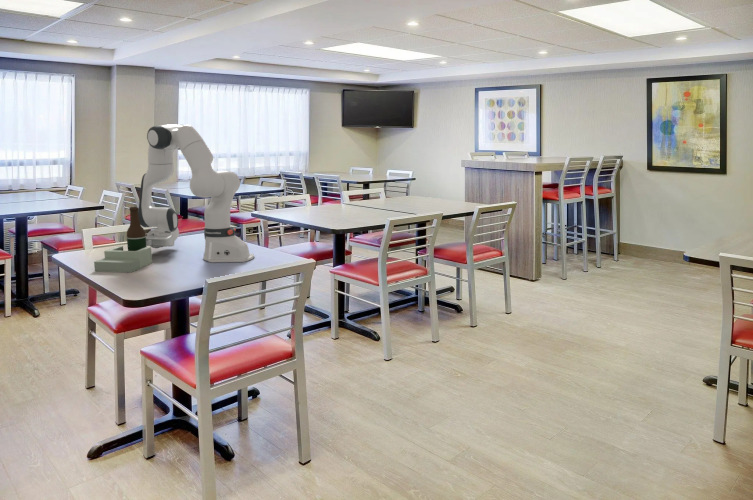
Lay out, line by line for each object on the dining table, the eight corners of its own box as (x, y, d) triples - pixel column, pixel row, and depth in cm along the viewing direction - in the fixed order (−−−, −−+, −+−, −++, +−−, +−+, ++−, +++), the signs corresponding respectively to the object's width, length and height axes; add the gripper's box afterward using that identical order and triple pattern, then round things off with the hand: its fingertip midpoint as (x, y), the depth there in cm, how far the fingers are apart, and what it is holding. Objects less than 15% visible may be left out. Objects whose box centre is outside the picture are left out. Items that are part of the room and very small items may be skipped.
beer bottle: (124, 261, 264) (120, 207, 259) (139, 258, 270) (135, 205, 265) (136, 263, 260) (132, 208, 255) (151, 260, 267) (147, 206, 262)
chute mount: (153, 262, 262) (152, 247, 261) (131, 272, 244) (130, 255, 243) (118, 261, 264) (117, 246, 263) (94, 271, 247) (93, 254, 245)
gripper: (135, 231, 281) (119, 236, 268) (176, 232, 279) (162, 237, 265) (136, 244, 283) (120, 250, 269) (177, 245, 280) (163, 251, 267)
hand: (141, 244), depth 267 cm, fingers closed, pressing on beer bottle
